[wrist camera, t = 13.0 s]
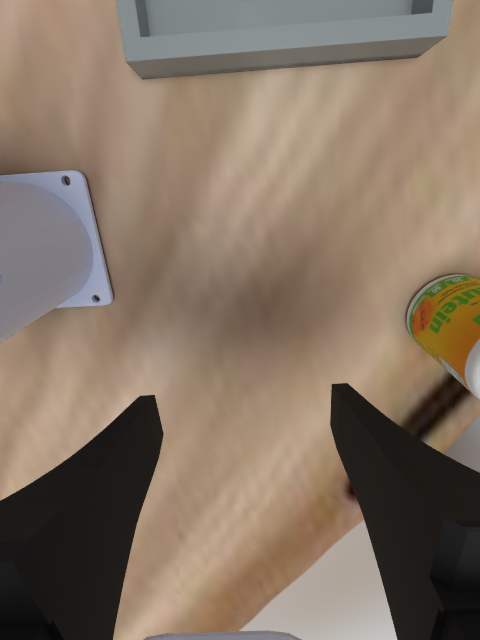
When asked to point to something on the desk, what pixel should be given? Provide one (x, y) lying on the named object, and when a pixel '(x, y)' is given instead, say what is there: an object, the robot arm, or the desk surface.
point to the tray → (274, 33)
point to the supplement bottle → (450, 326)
